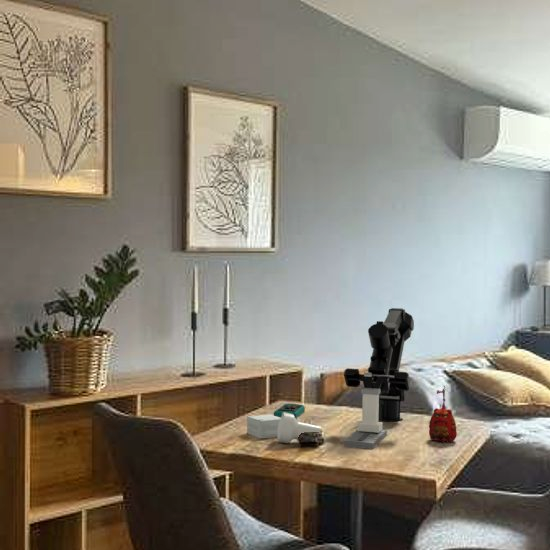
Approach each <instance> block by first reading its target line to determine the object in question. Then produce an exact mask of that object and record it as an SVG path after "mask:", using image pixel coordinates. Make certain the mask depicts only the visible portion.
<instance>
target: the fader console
mask: <svg viewBox="0 0 550 550" xmlns="http://www.w3.org/2000/svg"><path fill="white" fill-rule="evenodd" d="M387 433H388V430H387V429H382V430H381V431H380V432H379V433H376V432H365V431H358V428H357V429H355V431H353V432H352V433H351V434H349V435H348V436H347V437H346V438H345V439H344V440H343V447H348V448H349V447H351V448H359V449H371V450H373V449H375V448H376V446H377V445H378V444H380V443H381V442H382V441H383V440H384V439H386V437H387V435H388V434H387Z"/></svg>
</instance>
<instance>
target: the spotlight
mask: <svg viewBox="0 0 550 550" xmlns="http://www.w3.org/2000/svg"><path fill="white" fill-rule="evenodd" d="M304 432H319V433H320V434H321V432H322V431H321V425H317V424H311V423H306V422H302V421H298V420H297V419H296V418H295V417H294V415H293V414H290V413H285V412H283V413H282V416H281V419H280V422H279V425H278V434H277V437H276V441H277V443H280V444H281V443H282V444H285V443H287V444H286V445H288V444H289V443H291V441H294V440H297V441H299V440H298V437H299V435H300V434H301V433H304Z"/></svg>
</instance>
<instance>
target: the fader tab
mask: <svg viewBox="0 0 550 550" xmlns="http://www.w3.org/2000/svg"><path fill="white" fill-rule="evenodd" d="M380 393H381V389H376V388H364V387H362V388H361V389H360V394H361V395H362V408H361V409H362V411H361V412H362V414H361V416H362V417H361V421H359V422H358V423H357V429H358V431H365V432H376V433H379V432H380V431H381V430H383V424H384V423H383V422H382V421H381V422H380V421H379V419H378V414H379V394H380Z"/></svg>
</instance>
